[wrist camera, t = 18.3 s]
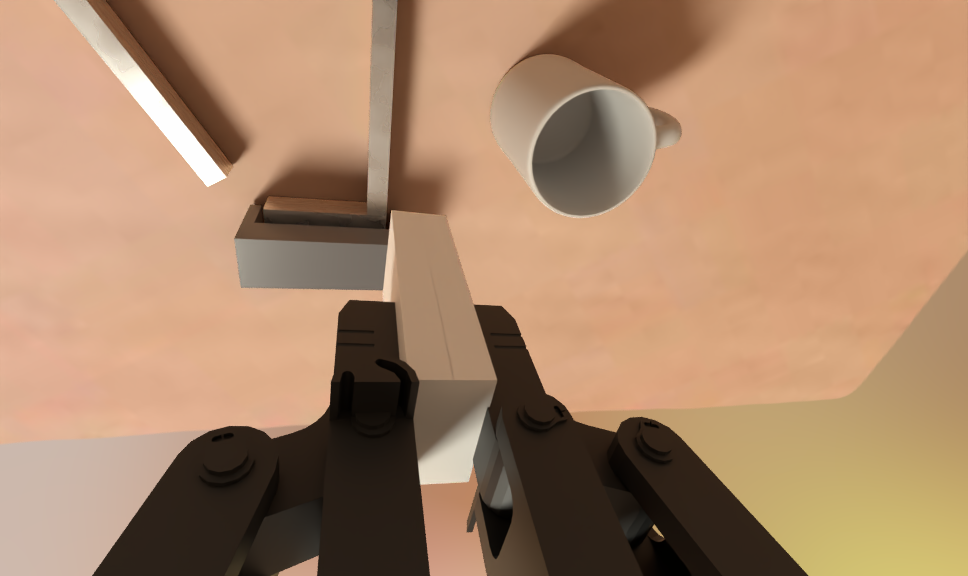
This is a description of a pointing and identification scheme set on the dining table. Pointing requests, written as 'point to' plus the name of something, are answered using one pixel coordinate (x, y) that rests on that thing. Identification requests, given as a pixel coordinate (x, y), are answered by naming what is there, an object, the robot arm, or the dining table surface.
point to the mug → (576, 134)
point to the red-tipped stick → (147, 85)
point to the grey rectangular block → (309, 255)
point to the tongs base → (378, 147)
